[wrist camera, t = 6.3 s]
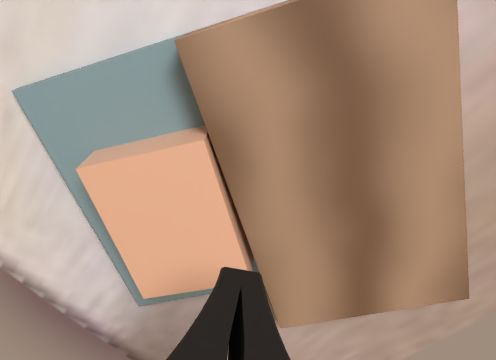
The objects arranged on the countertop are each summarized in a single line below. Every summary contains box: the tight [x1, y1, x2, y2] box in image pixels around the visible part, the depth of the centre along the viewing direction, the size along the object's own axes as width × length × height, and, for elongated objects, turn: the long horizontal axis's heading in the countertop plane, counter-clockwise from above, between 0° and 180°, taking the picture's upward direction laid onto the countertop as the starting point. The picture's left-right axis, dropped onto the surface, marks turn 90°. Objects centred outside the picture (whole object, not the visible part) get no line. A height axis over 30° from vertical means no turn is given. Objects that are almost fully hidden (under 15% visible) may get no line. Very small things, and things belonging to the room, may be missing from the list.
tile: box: [76, 125, 253, 299], centre depth 19 cm, size 6×8×2 cm
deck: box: [174, 0, 469, 328], centre depth 18 cm, size 10×16×2 cm, turn 17°
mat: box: [12, 34, 264, 306], centre depth 20 cm, size 8×14×1 cm, turn 17°
